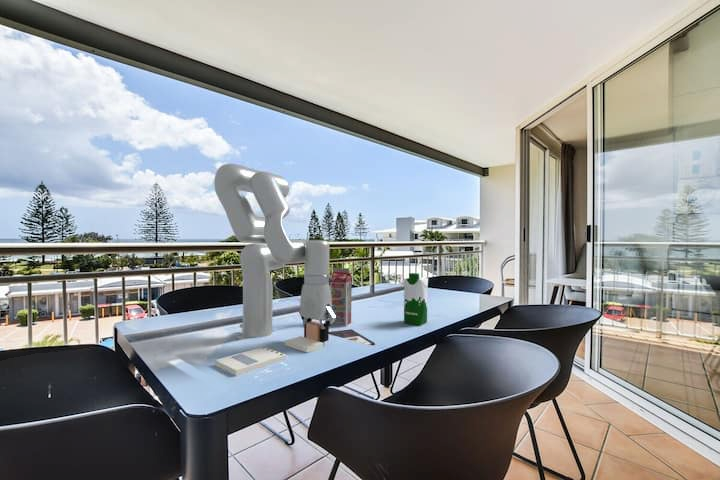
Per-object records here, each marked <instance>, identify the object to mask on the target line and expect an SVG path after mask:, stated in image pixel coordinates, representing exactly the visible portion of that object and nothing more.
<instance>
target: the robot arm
mask: <svg viewBox="0 0 720 480" xmlns="http://www.w3.org/2000/svg"><path fill="white" fill-rule="evenodd" d="M214 175H215V176H214V182H213V184H214V190H215V194H216V196H217V198H218V201H220V204H221V206H222V208H223V209H224V211H225V215H226V218H227V219H228V222H229V225H230V227H231V229H232V232H233V234H234V236H235V238H236V239H237V240H238V241H239V242H240V243H244V244H245V243H247V244H248V245H246V246H244V247H243V248H242V250H241V251H240V255H239V261H240V267H241V272H242V322H241V323H240V324H239V328H241V332H240V333H238V334H237V337H236V339H237V340H238V341H241V340H245V339H248V338H251V339H252V338H253V339H254V338H255V339H256V338H257V339H258V338H265V337H268V336H271V335H273V333H274V332H275V330H273V308H274V307H273V303H274V302H273V300H274V297H273V296H274V292H273V290H274V289H273V288H274V287H273V286H274V284H273V280H272V279H273V278H272V277H271V274H270V272H269V271H276V270H280V269H282V268H284V267H285V266H286V265H291V264H301V263H302V264H303V263H304V275H303V276H304V277H303V278H304V279H303V282H304V283H303V284H302V287H301V293H300V301H299V309H298V314H299V315H300V317H301V318H300V319H301V320H302V324H303V330H304V331H303V337H305V338H306V323H307V322H312V321H314V320H315V321H319V322H320V325H321V328H322V329H320V342H324V343H325V342H328V341H329V337H330V334H329V332H330V331H329V329H330V328H331V325H332V323H333V322H334V321H335V319H336V316H335V315H334V313H333V312H332V297H331V289H330V243H329V241H327V240H320V239H319V240H316V239H315V240H314V239H313V240H312V239H311V240H306V239H295V238H294V239H292V238H288V236H287V233H286V231H285V229H284V227H283V221H282V220H283V219H285V218H286V217H287V216H288V215H289V214H290V212H291V207H290V205H289V204H288V202H287V200H286V197H287V196H288V194H289V192H290V187H289V186H290V185H289V183H288V181H287V179H286V178H284V176H282V175H280V174H279V175H278V174H276V173H272V172H269V171H260V170H257V169H254V168H252V167H251V168H250V167H247V166H243V165H241V164H237V163H225V164H222V165H220V166H219V168H217V170H216V172H215V174H214ZM241 191H242V192H241ZM243 192H247V193H252V194H253V196H254V198H255V200H256V202H257V204H258V206H259V207H260V210H261V213H262V214H263V216H259V215H256V213H254V211H253V208H252V207H251V204H250V201H249V200H248V198H246V196H245V195H244V194H243Z"/></svg>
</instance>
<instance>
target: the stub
mask: <svg viewBox="0 0 720 480" xmlns="http://www.w3.org/2000/svg"><path fill="white" fill-rule="evenodd" d="M320 329H322V328H321V325H320V321H319V322H318V321H316V320H315V321H314V320H312V322H307V323H306V338H305V337H304V336H297V337H293V338H290V339H285V340H284V346H287V347H289V348H293V349H295V350H298V351H301V352H304V353H310V352H314V351H318V350H319V349H322V348H324V344H325V342H320Z"/></svg>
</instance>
